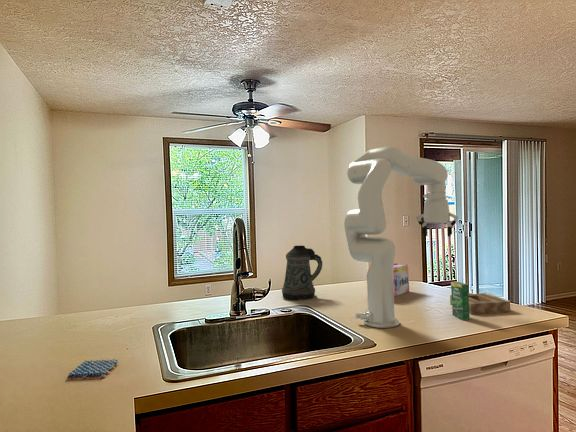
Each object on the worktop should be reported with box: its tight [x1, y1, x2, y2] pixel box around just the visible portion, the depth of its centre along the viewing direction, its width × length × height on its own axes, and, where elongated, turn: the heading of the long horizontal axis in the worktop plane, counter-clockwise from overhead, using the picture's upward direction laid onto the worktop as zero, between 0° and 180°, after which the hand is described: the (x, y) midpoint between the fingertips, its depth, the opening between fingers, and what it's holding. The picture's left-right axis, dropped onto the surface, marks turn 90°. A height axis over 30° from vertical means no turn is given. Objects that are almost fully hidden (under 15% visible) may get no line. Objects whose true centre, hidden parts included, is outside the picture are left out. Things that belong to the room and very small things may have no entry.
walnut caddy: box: [449, 292, 511, 315], centre depth 160 cm, size 16×16×4 cm
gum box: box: [393, 263, 410, 297], centre depth 191 cm, size 24×8×14 cm, turn 134°
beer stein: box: [281, 245, 323, 301], centre depth 193 cm, size 16×19×25 cm
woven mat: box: [66, 358, 119, 381], centre depth 109 cm, size 10×11×2 cm
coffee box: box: [450, 281, 470, 321], centre depth 148 cm, size 8×3×13 cm, turn 6°
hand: (437, 236), depth 170 cm, fingers open, 9 cm apart
